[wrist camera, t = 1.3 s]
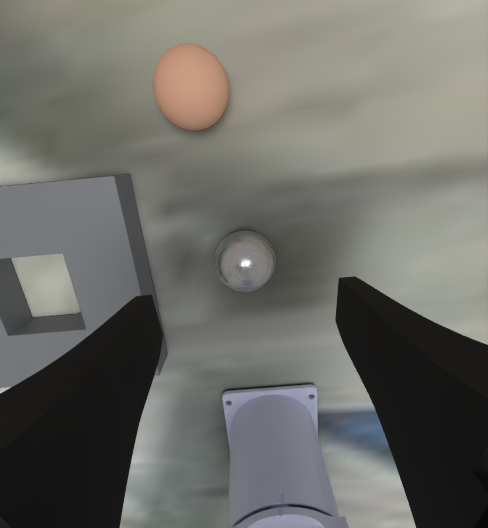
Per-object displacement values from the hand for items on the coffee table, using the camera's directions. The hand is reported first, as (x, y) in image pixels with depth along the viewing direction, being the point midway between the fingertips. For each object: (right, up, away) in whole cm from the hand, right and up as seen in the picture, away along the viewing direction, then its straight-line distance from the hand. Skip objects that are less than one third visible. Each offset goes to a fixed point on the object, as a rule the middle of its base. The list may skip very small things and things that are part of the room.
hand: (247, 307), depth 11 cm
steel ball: (0, +2, +8) cm, 8 cm away
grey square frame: (-14, 0, +10) cm, 17 cm away
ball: (-3, +11, +4) cm, 12 cm away
